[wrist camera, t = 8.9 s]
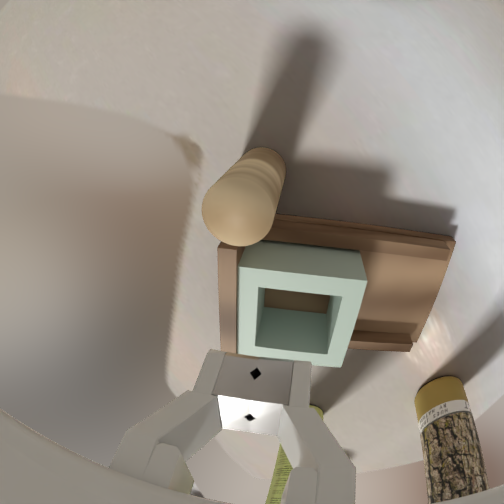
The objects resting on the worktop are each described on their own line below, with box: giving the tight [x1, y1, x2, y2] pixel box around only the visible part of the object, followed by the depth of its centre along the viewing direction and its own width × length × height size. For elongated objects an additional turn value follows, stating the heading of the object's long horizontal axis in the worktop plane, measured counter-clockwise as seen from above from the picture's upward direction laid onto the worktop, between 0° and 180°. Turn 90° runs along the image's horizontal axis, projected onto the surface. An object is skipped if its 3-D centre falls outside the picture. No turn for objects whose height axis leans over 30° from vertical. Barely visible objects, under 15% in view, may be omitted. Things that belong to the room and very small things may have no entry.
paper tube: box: [415, 376, 489, 504], centre depth 21 cm, size 7×7×25 cm
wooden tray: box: [217, 214, 456, 353], centre depth 24 cm, size 11×18×6 cm, turn 88°
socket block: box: [237, 239, 367, 368], centre depth 24 cm, size 8×8×5 cm
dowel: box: [202, 147, 286, 246], centre depth 19 cm, size 4×4×9 cm
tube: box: [265, 405, 323, 504], centre depth 28 cm, size 6×5×20 cm
